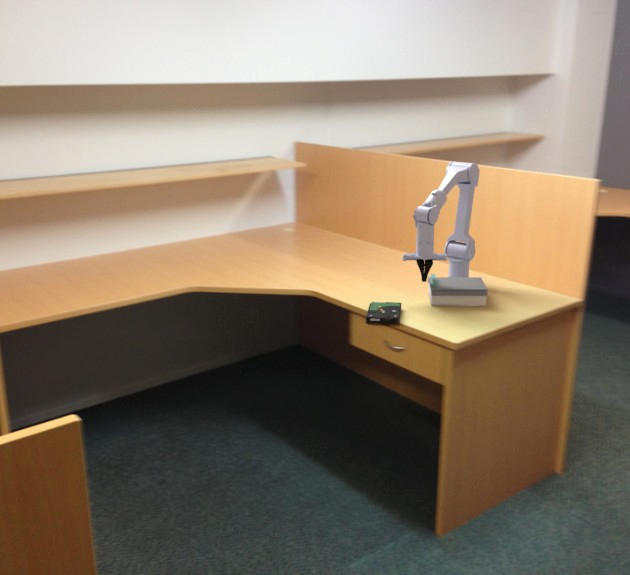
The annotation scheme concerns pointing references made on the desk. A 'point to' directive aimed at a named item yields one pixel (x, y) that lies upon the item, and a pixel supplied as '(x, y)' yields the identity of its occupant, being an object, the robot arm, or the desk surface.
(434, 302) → the box
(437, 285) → the lid
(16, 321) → the desk surface
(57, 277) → the desk surface
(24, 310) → the desk surface
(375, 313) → the disk drive
